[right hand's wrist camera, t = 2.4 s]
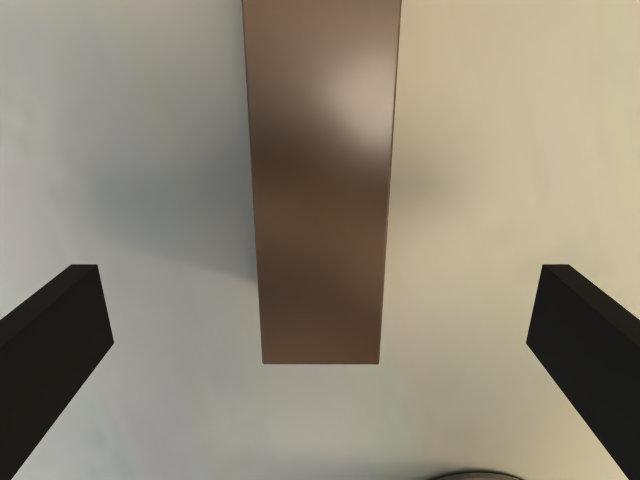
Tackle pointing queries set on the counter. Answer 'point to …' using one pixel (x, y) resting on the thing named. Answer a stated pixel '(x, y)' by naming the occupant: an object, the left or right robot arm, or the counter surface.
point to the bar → (321, 172)
